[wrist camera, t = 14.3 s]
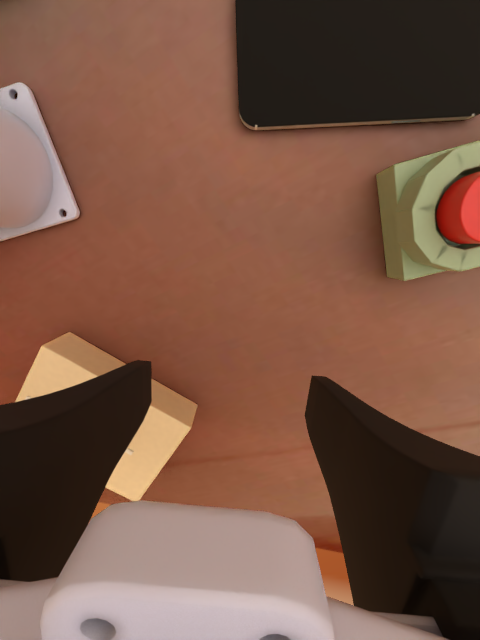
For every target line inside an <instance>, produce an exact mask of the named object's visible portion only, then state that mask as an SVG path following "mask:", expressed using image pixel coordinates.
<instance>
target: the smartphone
mask: <svg viewBox="0 0 480 640" xmlns="http://www.w3.org/2000/svg"><path fill="white" fill-rule="evenodd" d="M236 33H237V67H238V100H239V115H240V118H241V120H242V122H243V124H244V125H245V126H246V127H248V128H249V129H252V130H272V129H292V128H312V127H332V126H351V125H371V124H391V123H411V122H430V121H450V120H467V119H470V118H473V117H475V116H476V115H478V114H480V0H236Z"/></svg>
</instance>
